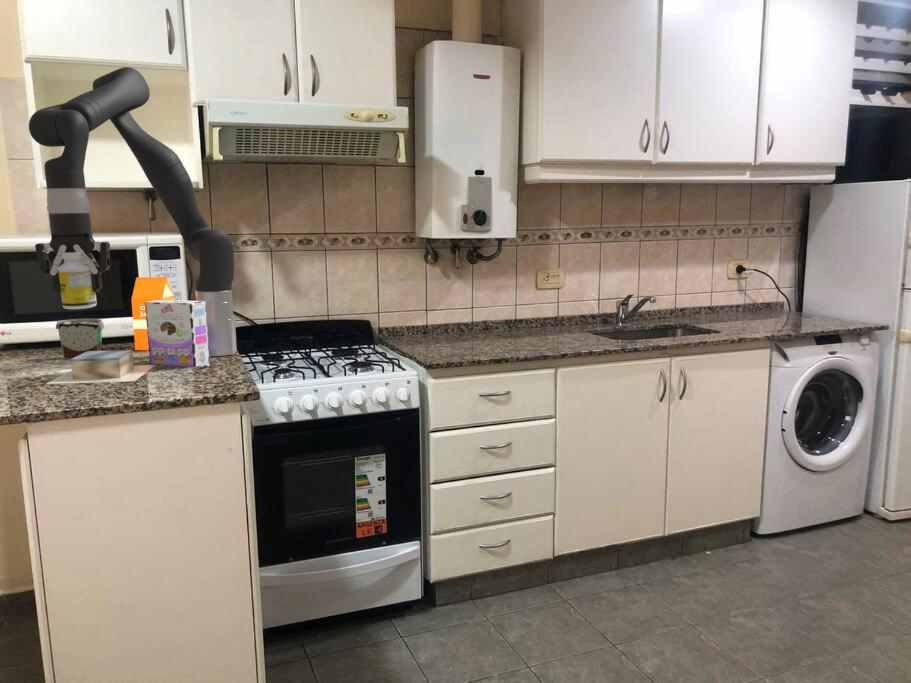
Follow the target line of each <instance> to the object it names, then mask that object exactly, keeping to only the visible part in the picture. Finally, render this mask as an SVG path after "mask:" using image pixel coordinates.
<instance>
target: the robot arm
mask: <svg viewBox="0 0 911 683" xmlns="http://www.w3.org/2000/svg"><path fill="white" fill-rule="evenodd" d="M150 95H151V93H150V87H149V85H148V82H147V80H146V79H145V76H143V75H142V74H141V72H139V71H138V70H137V69H135V68H133V67H130V66H125V67H120V68H118V69H115V70H113V71H111V72H108V73H106V74H103V75H101V76H99V77H98V78H95V79H94V80H93V82H92V89H91V90H89V91H86V92H84V93H82V94H79V95H76V96H75V97H74V98H72V99H70V100H68V101H66V102H64V103H59V104H56V105H52V106H47V107H44V108H40V109H38V110H36V111H35V112H34V113H33V114H32V115H31V117H30V118H29V120H28V131H29V135H30V136H31V137H32V139H33V140H34V141H35V142H36V143H38V144H39V145H40V146H43V147H44V146H45V147H49V148H52V147H53V148H55V147H63V151H62V154H61V155H60V156H58V157H57V156H56V157H55V158H51V159H48V160H47V161H45V162H44V175H45V185H46V204H47V205H46V209H47V215H48V221H49V223H48V224H49V230H50V231H49V232H50V235H51V238H50V241H49V242H46V243H43V242H39V243H36V244H35V245H34V248H35V254H36V256H37V260H38V265H39V271H40V272H41V273H43V274H49V275H50V276H51V281H52V287H53V288H52V289H53V291H54V292H56V294H59V295H61V289H60V281H59V273H58V268H59V266H60V265H62V264H63V263H64V261H63V255H62V253H67V252H79V253H80V256H81V259H82V260H83V262H84V263H85V264H86V265H87V266H88V267H89V269H90V270H91V272H92V273H93V274H92V275H91V277H92V286H93V292H96V293H99V292H100V290H101V289H102V288H103V279H102V278H103V277H102V274H103V272H105V271H107V270H109V271H110V268H111V244H110V242H109V241H96V240H95V239H94V238H93V232H92V221H91V220H92V219H91V212H90V202H89V198H88V194H87V189H86V180H85V178H86V177H85V172H84V167H85V162H86V161H85V160H86V154H87V149H88V144H89V138H90V133H91V132H93V131H94V130H96V129H97V128H99V127H100V126H101V125H103V124H104V123H106V122H107V121H108V120H109V121H111V124H112V125H113V127H115V129H116V130H117V131H118V133H119V134H120V135H121V138H122V139H123V140H124V141H125V143H126V144H127V146H128V148H129V149H130V151H131V153H132V154H133V155H134V157H135V159H136V161H137V162H138V164H139V166H140V167H141V169H142V171H143V173H144V175H145V176H146V179H147V180H148V182H149V184H150V185H151V187H152V188H153V190H154V191H155V193H156V194H157V196H158V197H159V199H160V201H161V203H162V204H163V206H164V208H165V209H166V210H167V212H168V214H169V216H171V218H172V220H173V221H174V223H175V225H176V226H177V229H178V231H179V232H180V235H181V238H182V240H183V242H184V244H185V246H186V248H187V249H188V250H187V251H188V252H189V254H190V255H191V257H192V258H193V260H195V261H196V262H198V263H199V275H198V277H197V278H196V280H195V282H194V287H195V301H206V317H207V334H208V350H209V357H222V356H223V357H224V356H233V355H234V354H235V353H236V352H237V332H236V318H235V316H234V306H233V288H232V287H233V286H232V285H233V281H234V277H235V252H234V251H235V250H234V245H233V241H232V239H231V237H230V236H229V235H228V234H227V233H226V232H225V231H223V230H219V229H212V227H211V226H210V225H209V224H208V222H207V220H206V218H205V217H204V216H203V214H202V212H201V211H200V208H199V206H198V203H197V199H196V194H195V190H194V186H193V182H192V179H191V177H190V175H189V172H188V171H187V169H186V168H185V166H184V164H183V163H182V161H181V159H180V157H179V156H178V154H177V153H176V152H175V151H174V150H173V149H171V148H170V147H169V146H167V145H165V144H164V143H162V141H160V140H158V139H156V138H155V137H153V136H152V135H150V134H148V133H147V132H146V131H145V130H144V129H143V128H142V127H141V126H140V125H139V124H138V122H137V121H136V120H135V118H134V117H133V116H132V114H131V113H130V112H131V111H133V110H135V109H138V108H140V107H142V106H144V105H146V104H147V103H148V102H149V99H150ZM95 248H96V250H97V252H99V253H100V254H99V257H100V259H99V260H100V264H98V262H97V260H96V259H95V257H94V255H93V254H92V252H93V250H94V249H95ZM51 250H52V251H53V252H54V253H55V254H56V256H55V257H54V261H53V263H52V266H51V261H50V259H49V258H50V257H49V253H50V252H51ZM102 290H103V289H102Z"/></svg>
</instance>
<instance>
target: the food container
mask: <svg viewBox="0 0 911 683" xmlns="http://www.w3.org/2000/svg"><path fill="white" fill-rule="evenodd" d="M55 329H56V330H58V336H59V339H60V345H61V351H62V355H63V356H62V357H63V359H64V360H71V359H72V358H74V357H76V356H79V355H81V354H83V353H85V352H87V351H102V341H103V339H102V338H103V337H102V335H103V334H102V333H103V331H102V330H104V329H105V325H104V322H103V320H102V319H99V318H73V319H63V320H57V321H56V324H55Z"/></svg>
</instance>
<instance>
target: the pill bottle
mask: <svg viewBox="0 0 911 683" xmlns="http://www.w3.org/2000/svg"><path fill="white" fill-rule="evenodd" d="M62 255H63V261H64V263H63V264H62V265H60V266H59V268H58V273H59V281H60V289H61V294H60V296H61V304H62V308H63V309H66V310H83V309H91V308H94V307H96V306H97V305H98V304H97V303H98V302H97V294H96V293H97V292H93V286H92V277H91V275H92V274H93V273H92V272H91V270H90V269H89V267H88V266H87V265H86V264H85V263H84V262H83V260H82V259H81V256H80V253H79V252H67V253H62Z"/></svg>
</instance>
